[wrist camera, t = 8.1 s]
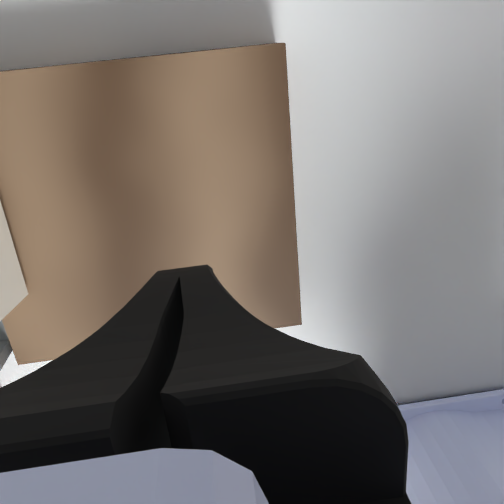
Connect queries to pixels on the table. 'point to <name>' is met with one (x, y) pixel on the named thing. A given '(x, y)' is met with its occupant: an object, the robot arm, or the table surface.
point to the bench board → (146, 186)
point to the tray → (4, 345)
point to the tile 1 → (9, 271)
